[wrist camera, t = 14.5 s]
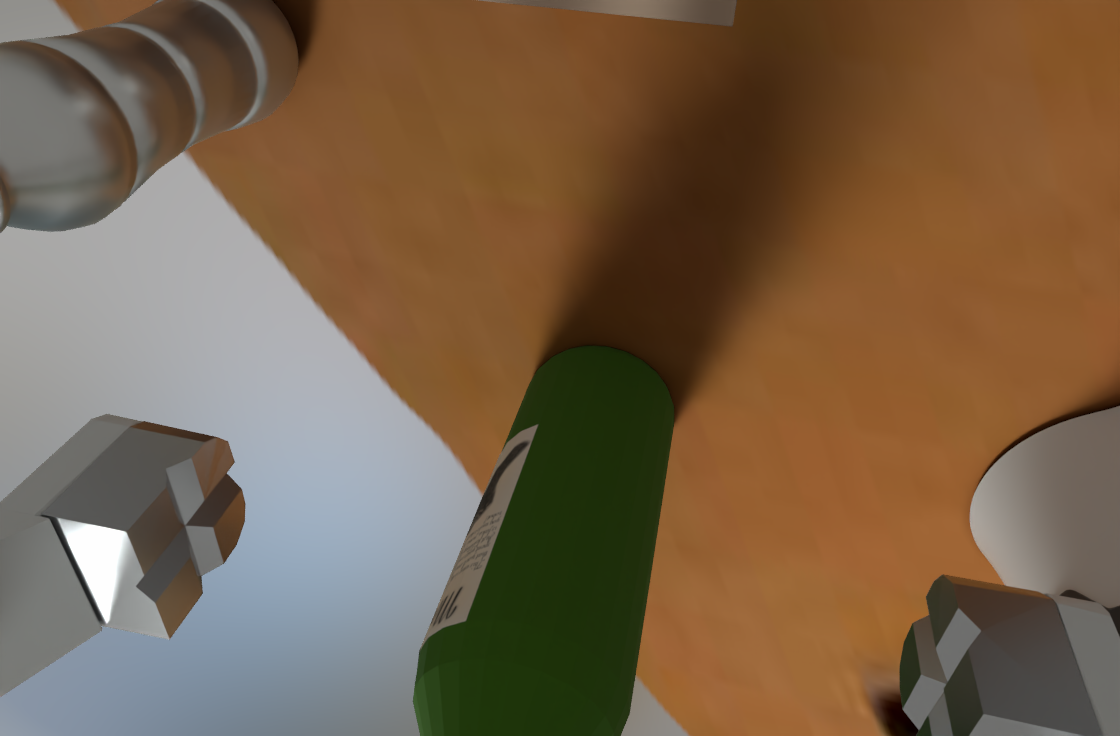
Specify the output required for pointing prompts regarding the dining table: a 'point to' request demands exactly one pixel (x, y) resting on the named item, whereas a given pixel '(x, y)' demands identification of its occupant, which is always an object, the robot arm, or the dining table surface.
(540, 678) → the wine bottle
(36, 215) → the plastic bottle
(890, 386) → the dining table surface
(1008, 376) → the dining table surface
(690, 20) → the block
